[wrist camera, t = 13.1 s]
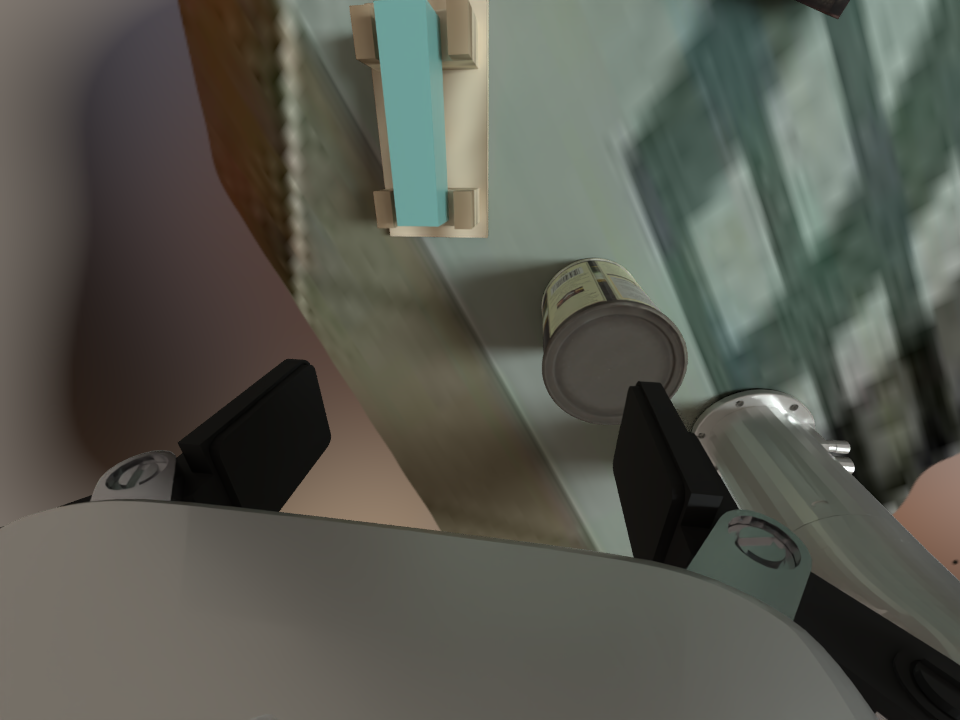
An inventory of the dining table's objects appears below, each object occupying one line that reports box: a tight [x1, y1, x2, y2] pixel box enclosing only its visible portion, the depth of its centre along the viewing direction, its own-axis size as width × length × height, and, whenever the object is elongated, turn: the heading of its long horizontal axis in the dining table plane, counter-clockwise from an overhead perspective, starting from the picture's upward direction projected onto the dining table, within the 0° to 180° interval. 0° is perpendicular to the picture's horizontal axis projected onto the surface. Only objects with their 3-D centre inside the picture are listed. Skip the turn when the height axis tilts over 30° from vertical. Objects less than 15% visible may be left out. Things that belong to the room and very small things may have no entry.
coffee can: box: [541, 258, 688, 425], centre depth 34 cm, size 10×10×14 cm
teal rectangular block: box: [373, 0, 449, 227], centre depth 29 cm, size 4×14×4 cm, turn 1°
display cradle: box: [349, 0, 489, 238], centre depth 32 cm, size 10×18×6 cm, turn 1°
